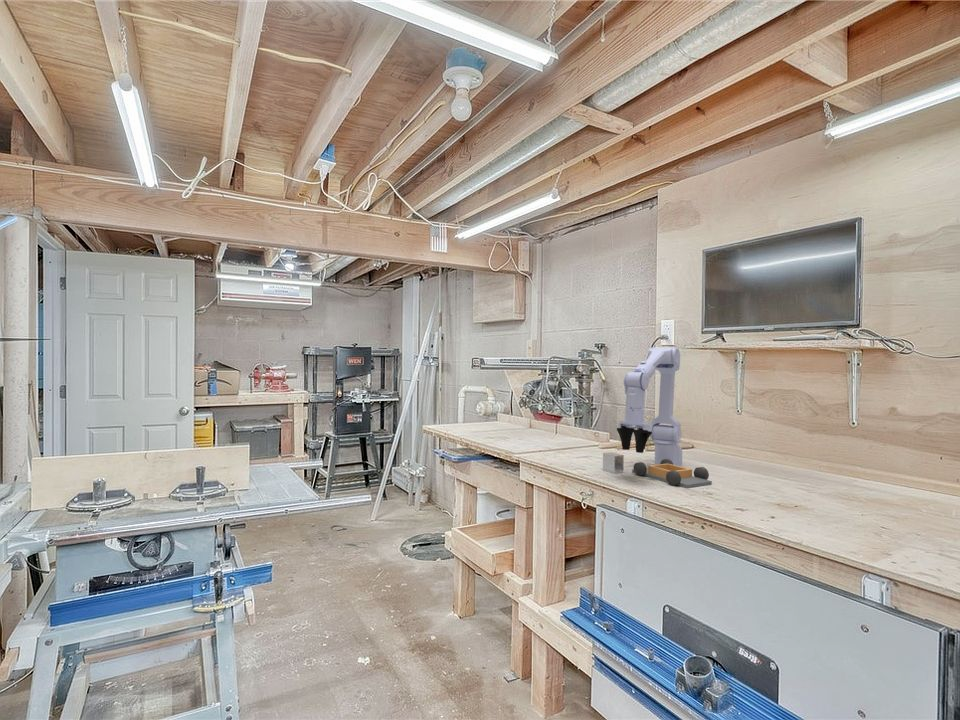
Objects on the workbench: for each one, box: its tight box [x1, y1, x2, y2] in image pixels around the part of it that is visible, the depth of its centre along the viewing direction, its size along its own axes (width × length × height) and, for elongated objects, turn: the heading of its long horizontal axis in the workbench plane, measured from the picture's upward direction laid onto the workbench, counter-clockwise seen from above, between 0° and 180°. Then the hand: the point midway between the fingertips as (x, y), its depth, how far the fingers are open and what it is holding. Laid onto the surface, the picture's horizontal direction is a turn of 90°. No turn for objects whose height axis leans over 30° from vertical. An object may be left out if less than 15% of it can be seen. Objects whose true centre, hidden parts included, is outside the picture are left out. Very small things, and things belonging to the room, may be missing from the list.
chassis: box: [631, 459, 713, 489], centre depth 160 cm, size 14×23×4 cm, turn 27°
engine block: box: [602, 451, 625, 474], centre depth 170 cm, size 4×6×6 cm, turn 27°
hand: (632, 451), depth 156 cm, fingers open, 7 cm apart
